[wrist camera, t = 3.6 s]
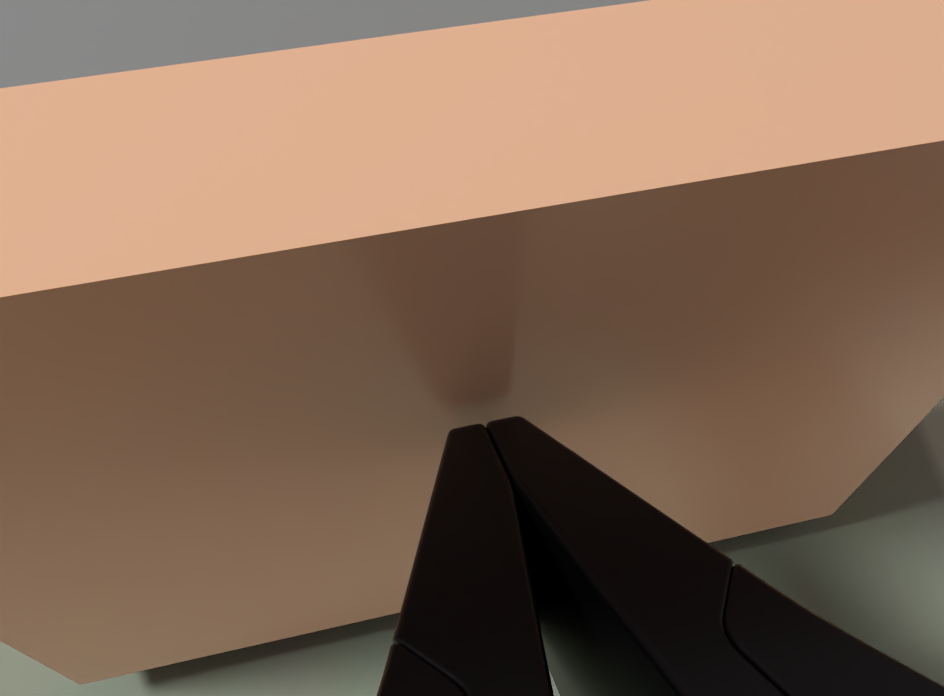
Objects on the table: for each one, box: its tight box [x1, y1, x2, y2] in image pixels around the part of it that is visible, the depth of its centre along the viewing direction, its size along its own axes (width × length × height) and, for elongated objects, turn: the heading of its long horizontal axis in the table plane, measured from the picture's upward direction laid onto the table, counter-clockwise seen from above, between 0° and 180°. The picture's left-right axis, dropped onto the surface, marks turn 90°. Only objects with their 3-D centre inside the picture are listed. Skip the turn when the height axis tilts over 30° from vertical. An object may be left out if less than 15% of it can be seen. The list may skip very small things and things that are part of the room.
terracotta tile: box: [0, 0, 944, 685], centre depth 11 cm, size 2×14×10 cm, turn 102°
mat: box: [0, 0, 648, 88], centre depth 17 cm, size 12×18×1 cm, turn 102°
